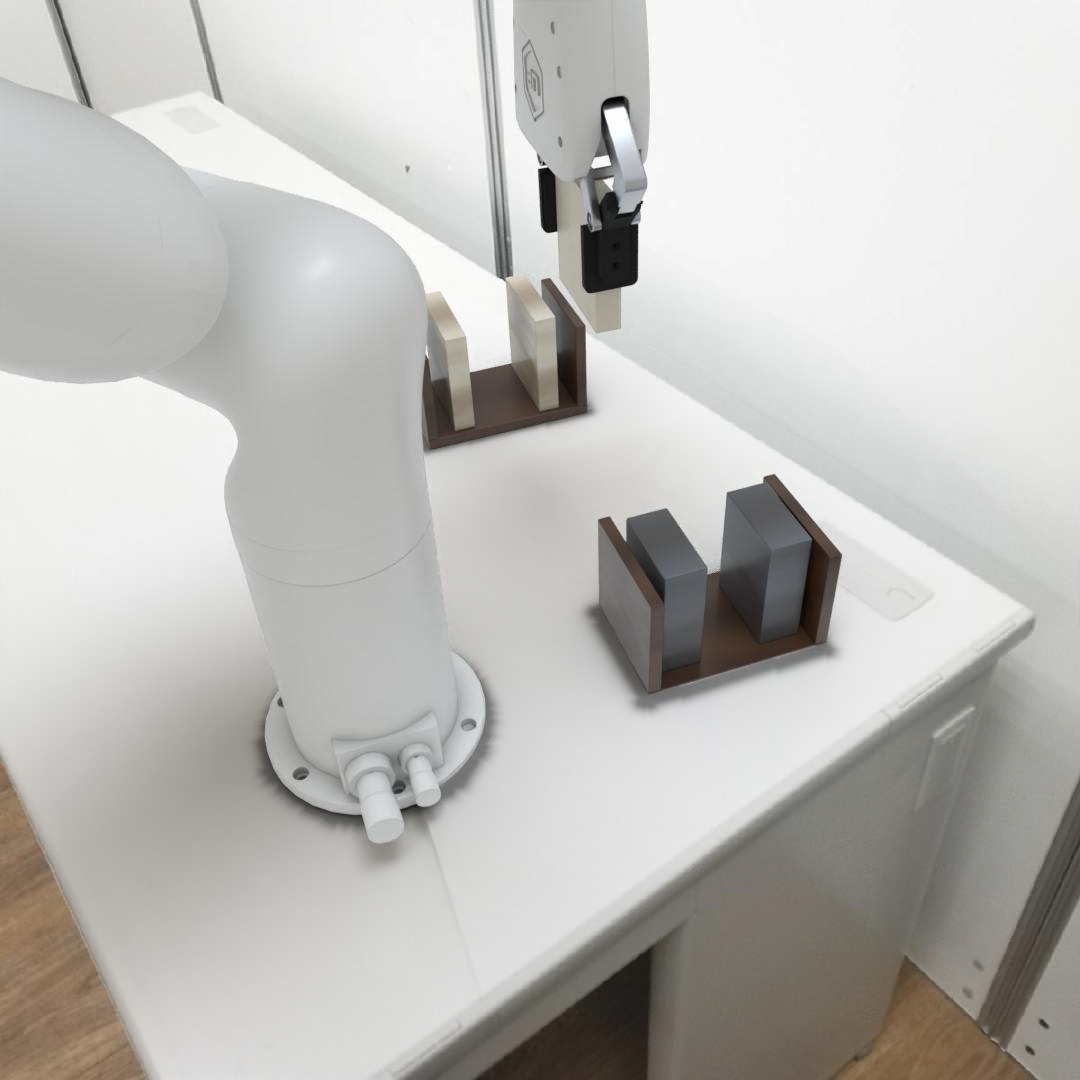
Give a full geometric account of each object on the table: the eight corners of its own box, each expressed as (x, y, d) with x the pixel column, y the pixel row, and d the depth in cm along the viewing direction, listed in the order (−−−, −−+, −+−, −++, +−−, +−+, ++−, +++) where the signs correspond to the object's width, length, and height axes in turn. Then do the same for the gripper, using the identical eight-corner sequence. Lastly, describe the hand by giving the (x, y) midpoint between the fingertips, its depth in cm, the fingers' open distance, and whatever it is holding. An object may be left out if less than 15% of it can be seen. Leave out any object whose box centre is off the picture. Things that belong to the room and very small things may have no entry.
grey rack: (825, 650, 67) (844, 546, 62) (648, 703, 65) (651, 599, 59) (763, 567, 73) (775, 465, 68) (598, 612, 71) (597, 510, 65)
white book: (621, 328, 66) (621, 201, 61) (595, 334, 66) (594, 206, 61) (582, 274, 71) (580, 152, 66) (558, 278, 71) (554, 156, 66)
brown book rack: (587, 412, 87) (585, 313, 82) (429, 449, 85) (416, 349, 79) (553, 361, 93) (549, 265, 87) (405, 395, 90) (390, 297, 84)
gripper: (462, -101, 60) (489, 207, 72) (560, -15, 48) (573, 341, 60) (593, -118, 62) (598, 187, 74) (722, -39, 49) (703, 314, 61)
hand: (587, 254), depth 67 cm, fingers closed on white book, 7 cm apart
